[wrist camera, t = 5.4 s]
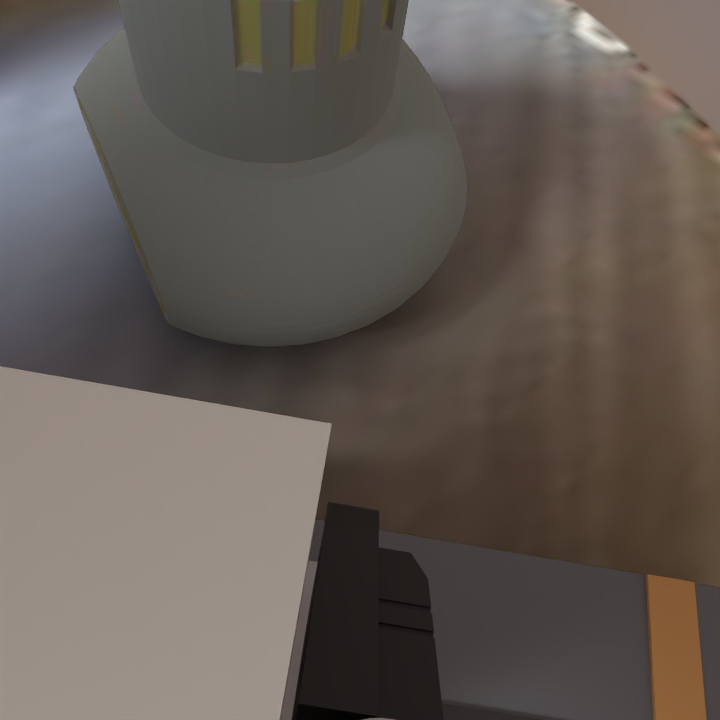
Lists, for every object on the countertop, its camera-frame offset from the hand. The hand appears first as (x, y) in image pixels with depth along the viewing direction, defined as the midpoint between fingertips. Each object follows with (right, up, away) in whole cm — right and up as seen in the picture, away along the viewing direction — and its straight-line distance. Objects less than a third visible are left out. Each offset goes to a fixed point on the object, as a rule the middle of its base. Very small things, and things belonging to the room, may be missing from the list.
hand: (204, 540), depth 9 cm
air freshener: (-1, +7, +11) cm, 13 cm away
